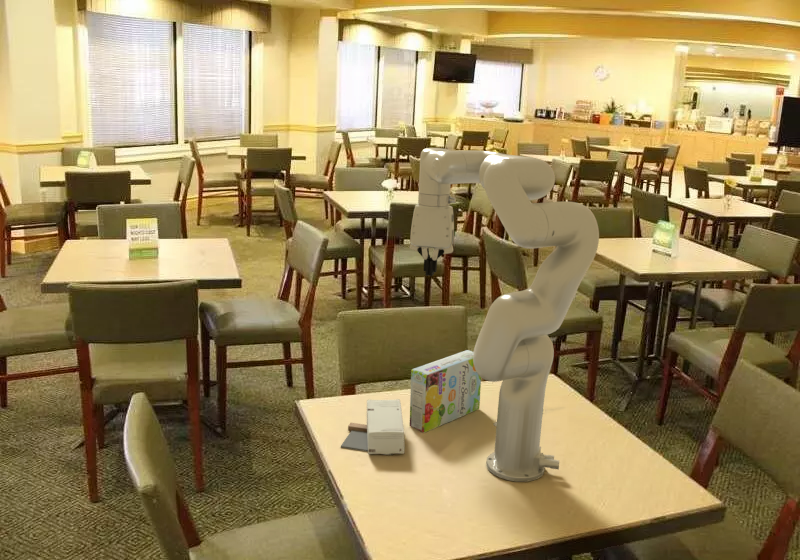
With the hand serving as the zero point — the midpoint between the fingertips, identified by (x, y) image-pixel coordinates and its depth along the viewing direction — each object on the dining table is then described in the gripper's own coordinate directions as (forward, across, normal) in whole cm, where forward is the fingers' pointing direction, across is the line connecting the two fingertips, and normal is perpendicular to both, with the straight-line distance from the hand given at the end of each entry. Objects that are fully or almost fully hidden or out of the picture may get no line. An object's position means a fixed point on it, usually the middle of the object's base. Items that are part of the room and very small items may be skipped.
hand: (429, 274), depth 184 cm
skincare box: (+31, +7, +15) cm, 35 cm away
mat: (+35, +7, +24) cm, 43 cm away
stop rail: (+35, +8, +18) cm, 40 cm away
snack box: (+35, -7, +5) cm, 36 cm away
